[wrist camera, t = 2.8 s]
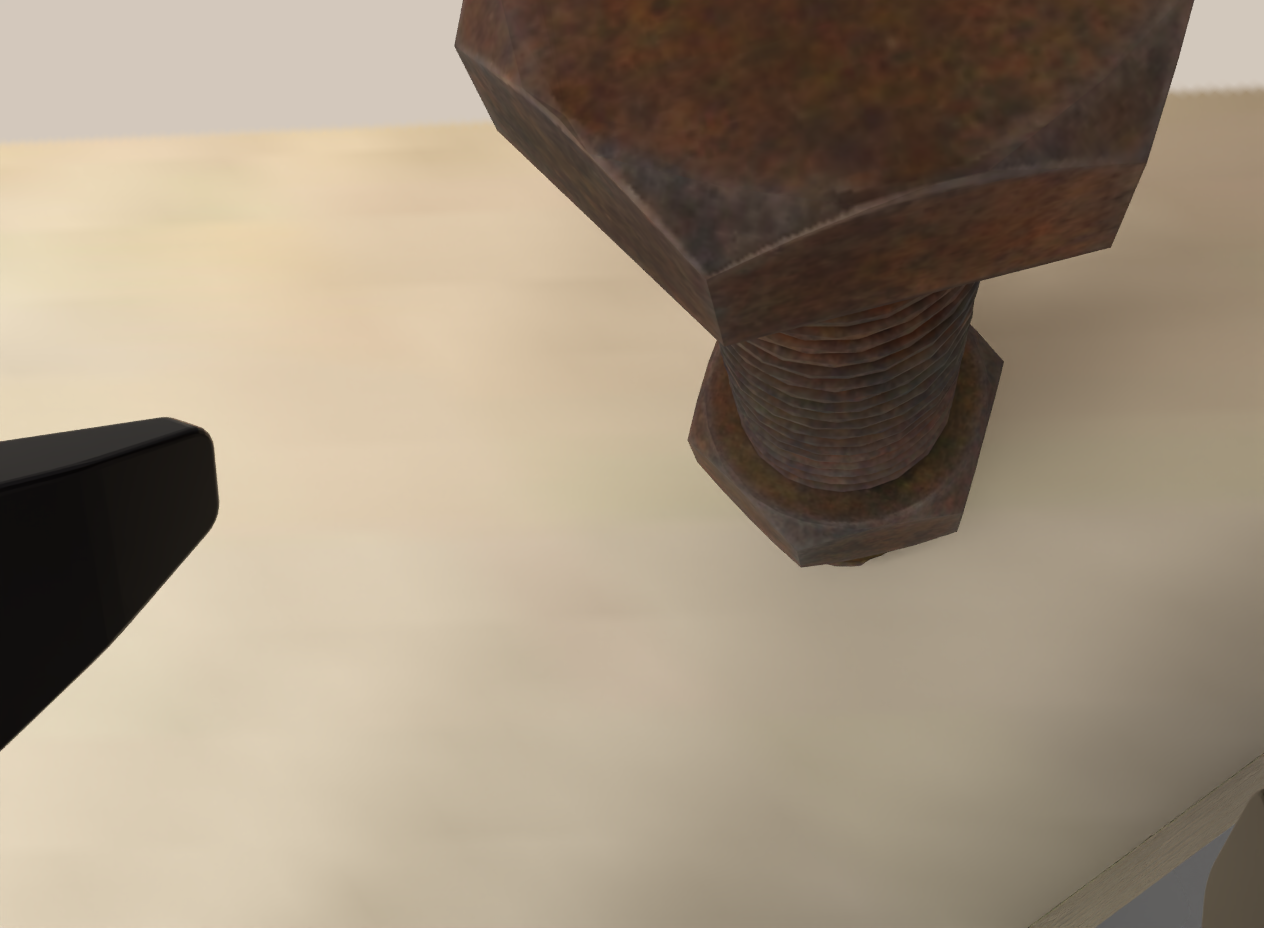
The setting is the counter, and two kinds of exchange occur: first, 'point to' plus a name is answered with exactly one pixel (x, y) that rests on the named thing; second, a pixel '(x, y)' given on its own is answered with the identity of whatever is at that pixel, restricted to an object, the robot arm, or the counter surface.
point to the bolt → (836, 211)
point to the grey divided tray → (1163, 867)
